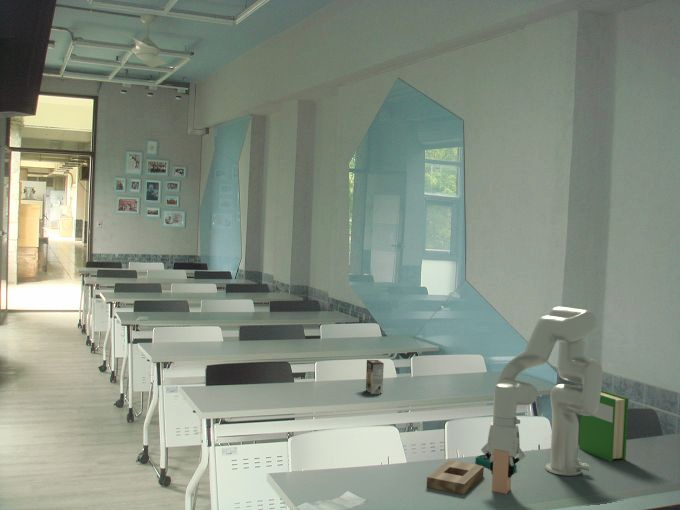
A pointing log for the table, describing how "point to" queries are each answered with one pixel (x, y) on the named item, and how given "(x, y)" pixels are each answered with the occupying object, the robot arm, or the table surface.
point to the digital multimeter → (486, 461)
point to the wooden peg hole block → (455, 477)
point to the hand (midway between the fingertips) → (501, 474)
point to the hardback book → (606, 428)
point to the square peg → (501, 472)
